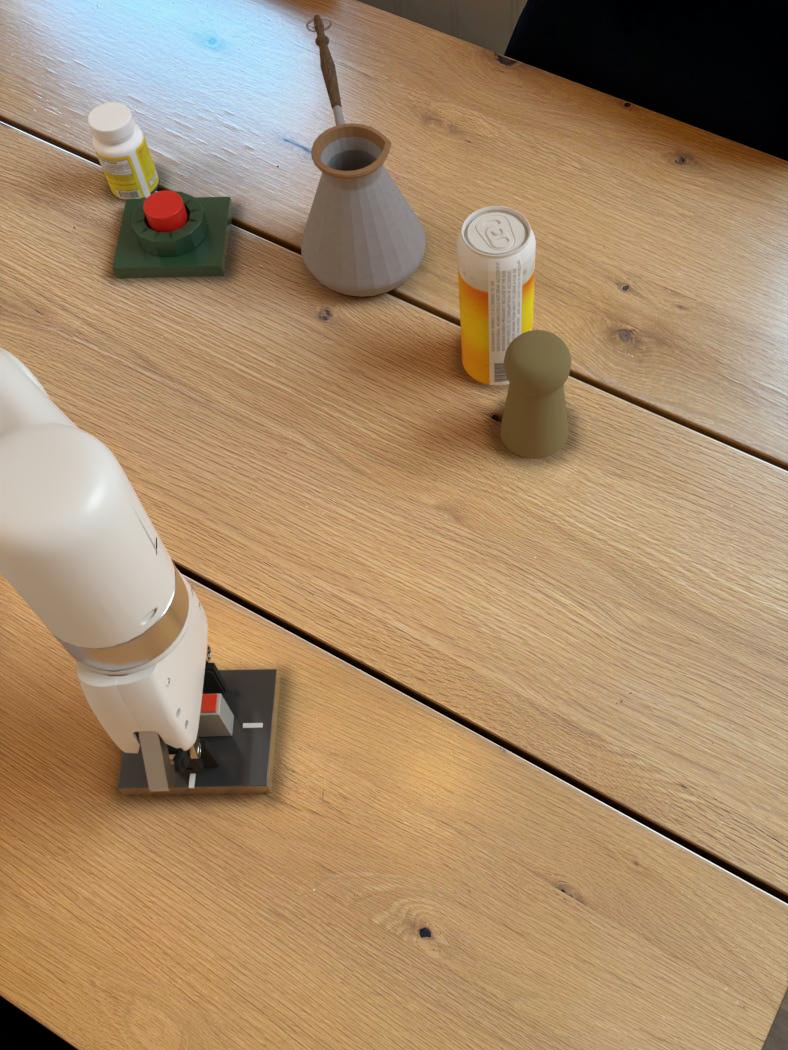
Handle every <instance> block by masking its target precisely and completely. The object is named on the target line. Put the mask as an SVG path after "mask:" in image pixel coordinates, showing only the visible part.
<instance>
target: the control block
mask: <svg viewBox="0 0 788 1050" xmlns="http://www.w3.org/2000/svg"><path fill="white" fill-rule="evenodd" d="M172 191H173V190H172ZM173 192H175V193H177V194H179V195H180V196H181V198H182V200H183V203H184V206H185V209H186V212H187V215H188V218H187V222H186V224H185V225H184V226H183V227H182V228H179V229H177V230H174V231H172V232H157V231H155V230H153V229H152V228H151V227H150V225H149V223H148V220H147V218H146V215H145V212H144V209H143V205H144V202H145V200H146V199H147V198H148V197H147V198H145V199H126V201H125V202H124V208H123V212H122V217H121V222H120V227H119V233H118V238H117V243H116V246H115V247H116V248H115V253H114V258H113V261H112V262H113V263H112V267H111V268H112V270H113V273H114V275H115V277H116V279H151V278H153V279H155V278H159V279H161V278H162V279H163V278H202V277H205V278H206V277H225V275H226V266H227V260H228V259H227V258H228V252H229V245H230V238H231V237H230V236H231V230H232V229H231V228H232V221H233V214H234V205H233V201H232V197H231V196H201V197H199V196H198V197H197V196H193V195H192V194H191V195H190V194H188V193H186V192H184V191H180V190H178V191H177V190H175V191H173Z"/></svg>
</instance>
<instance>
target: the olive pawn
mask: <svg viewBox="0 0 788 1050" xmlns="http://www.w3.org/2000/svg"><path fill="white" fill-rule="evenodd" d="M571 368H572V357H571V353H570V349H569V347H568V346H567V344H566V343H565V341H564V340H563V339H562V338H561V337H560V336H558V335H557V334H555V333H554V332H550V331H548V330H542V329H533V330H532V331H527V332H525V333H522V334H520V335H519V336H518V337H516V338H515V339H514V340H513V341H512V342H511V343H510V345H509V346H508V348H507V350H506V353H505V357H504V369H505V374H506V377H507V379H508V381H509V382H510V384H508V390H507V393H506V397H505V404H504V409H503V414H502V418H501V423H500V428H499V434H500V439H501V441H502V443H503V445H504V446H505V447H506V449H508V450H509V451H510V452H511V453H513V454H515V455H516V456H519V457H521V458H524V459H533V460H537V459H545V458H548V457H550V456H552V455H555V454H556V453H558V452H559V451H560V450H561V449H562V448H563V447H564V446H565V444H566V443H567V441H568V438H569V431H570V430H569V423H568V422H569V420H568V412H567V411H568V410H567V402H566V393H565V383H566V382H567V381H568V378H569V377H570V375H571V374H570V373H571Z"/></svg>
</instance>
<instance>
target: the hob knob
mask: <svg viewBox="0 0 788 1050" xmlns="http://www.w3.org/2000/svg"><path fill="white" fill-rule="evenodd" d="M233 722H234V715H233V713H232V711H231V710H230V708H229V706H228V705H227V703H226V701H225V700H224V698H223V696H222V694H202V701H201V710H200V719H199V726H198V733H197V734H198V737H208V736H232V733H233Z"/></svg>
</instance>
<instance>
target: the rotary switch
mask: <svg viewBox="0 0 788 1050" xmlns="http://www.w3.org/2000/svg"><path fill="white" fill-rule="evenodd" d="M218 670H219V672H220V674H221V676H222V677H223V679H224V681H225V683H226V692H224V694H222V696H223V698H224V700H225V701H226V703H227V705H228V706H229V708H230V710H231V711H232V713H233V715H234V722H233V733H232V736H208V737H199V738H205V739H206V740H207V741H208V743H209V744H210V746H211V747H212V748H213V750H214V751H215V753H216V754H217V756H218V758H219V766H218V767H215V768H203V772H202V773H197V774H186V773H177V779H176V781H175V783H174V785H173V787H172V789H171V791H154V792H150V790H149V786H148V781H147V776H146V771H145V765H144V760H143V755H142V749H141V744H140V747H139V751H138V753H125V752H123V751H122V753H121V759H120V766H119V767H120V768H119V772H118V780H117V786H116V788H117V790H118V791H119V792H120V793H121V794H122V795H123V796H173V795H175V796H176V795H177V796H178V795H179V796H180V795H232V794H233V795H234V794H237V795H238V794H239V795H240V794H271V793H272V790H273V789H272V788H273V777H274V763H275V753H276V751H275V750H276V742H277V741H276V739H277V729H278V728H277V727H278V714H279V703H280V691H281V675H280V674H279V672H278V670H277V669H276V668H268V669H267V668H266V669H264V668H263V669H261V668H260V669H218Z"/></svg>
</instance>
